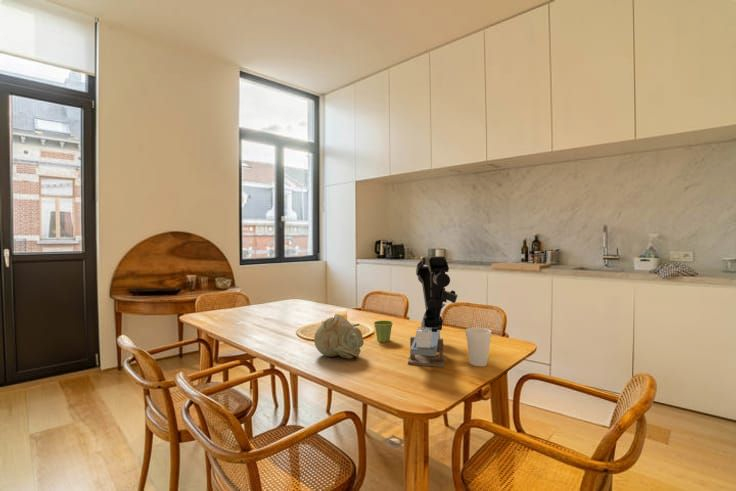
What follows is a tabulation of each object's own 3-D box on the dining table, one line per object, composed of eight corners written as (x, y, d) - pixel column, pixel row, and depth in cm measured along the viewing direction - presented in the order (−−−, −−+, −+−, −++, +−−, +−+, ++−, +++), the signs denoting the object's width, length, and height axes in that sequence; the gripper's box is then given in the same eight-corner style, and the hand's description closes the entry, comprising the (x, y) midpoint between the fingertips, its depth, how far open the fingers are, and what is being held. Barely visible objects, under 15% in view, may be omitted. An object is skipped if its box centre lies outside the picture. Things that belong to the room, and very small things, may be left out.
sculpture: (313, 368, 142) (361, 350, 140) (302, 320, 151) (346, 302, 149) (330, 371, 158) (372, 355, 156) (318, 327, 167) (358, 311, 165)
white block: (418, 345, 137) (417, 327, 137) (431, 346, 136) (431, 327, 136) (416, 350, 132) (416, 331, 131) (430, 351, 130) (430, 332, 130)
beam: (418, 346, 159) (418, 328, 158) (439, 348, 156) (439, 329, 156) (410, 371, 131) (410, 348, 131) (435, 373, 129) (435, 350, 129)
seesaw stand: (410, 357, 151) (410, 334, 151) (445, 360, 148) (445, 336, 147) (407, 364, 143) (407, 340, 143) (444, 367, 140) (444, 342, 140)
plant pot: (370, 342, 173) (370, 324, 173) (377, 337, 182) (377, 319, 182) (389, 344, 170) (389, 325, 169) (395, 338, 178) (395, 321, 178)
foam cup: (487, 369, 137) (487, 334, 137) (463, 365, 142) (462, 331, 142) (493, 361, 145) (493, 329, 145) (470, 357, 150) (470, 326, 150)
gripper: (454, 287, 148) (455, 326, 148) (457, 283, 166) (458, 318, 166) (426, 286, 152) (427, 324, 151) (433, 283, 170) (433, 317, 169)
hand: (437, 321), depth 159 cm, fingers closed
